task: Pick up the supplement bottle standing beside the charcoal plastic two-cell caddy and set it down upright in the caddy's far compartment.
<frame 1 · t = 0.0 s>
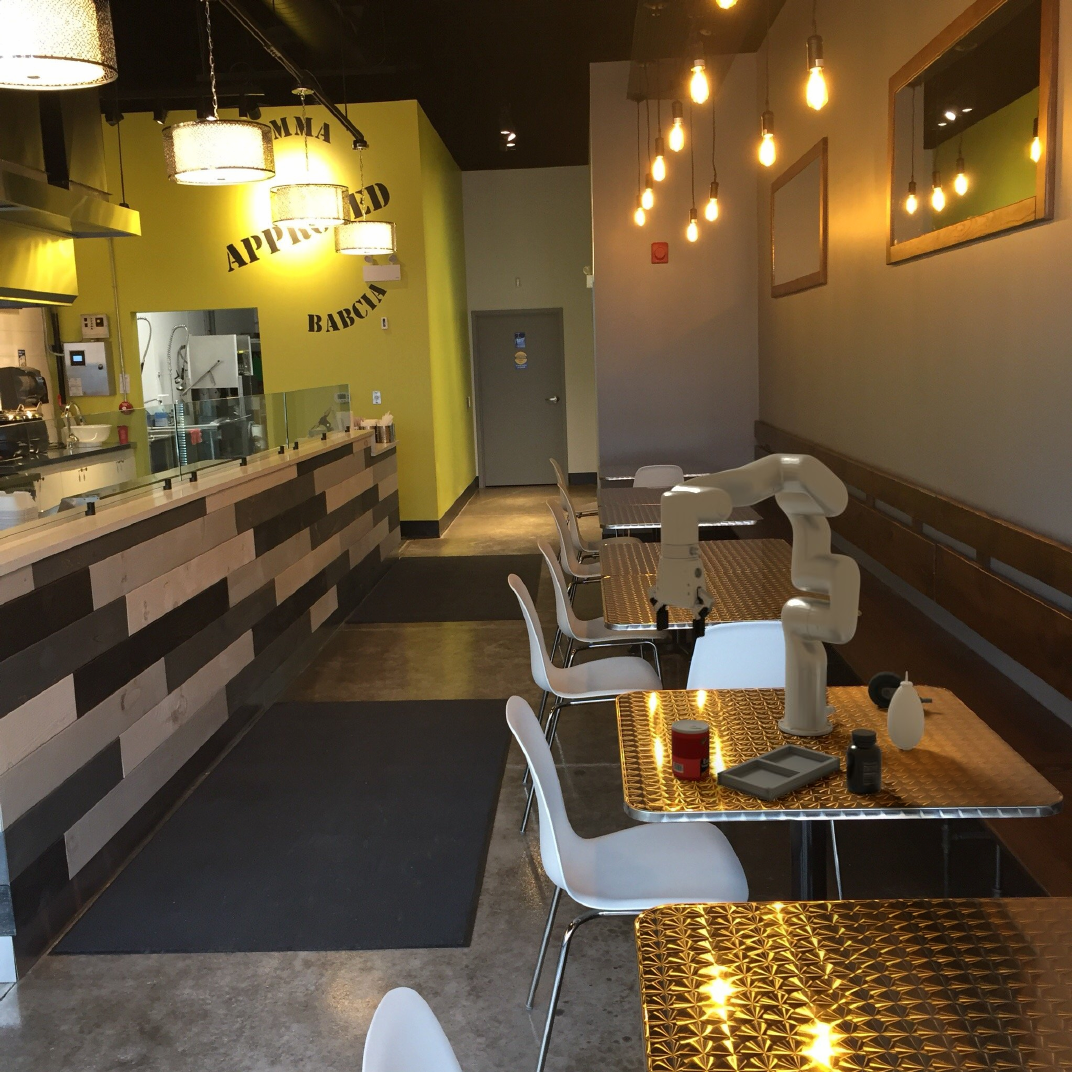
hand: (680, 633, 218), 31 cm above the table, tool pointing down, fingers open, 9 cm apart
supplement bottle: (863, 790, 214), on the table
white air blower bulb: (905, 750, 237), on the table
caddy: (779, 776, 222), on the table
canned food: (690, 775, 225), on the table
caster wheel: (899, 709, 266), on the table
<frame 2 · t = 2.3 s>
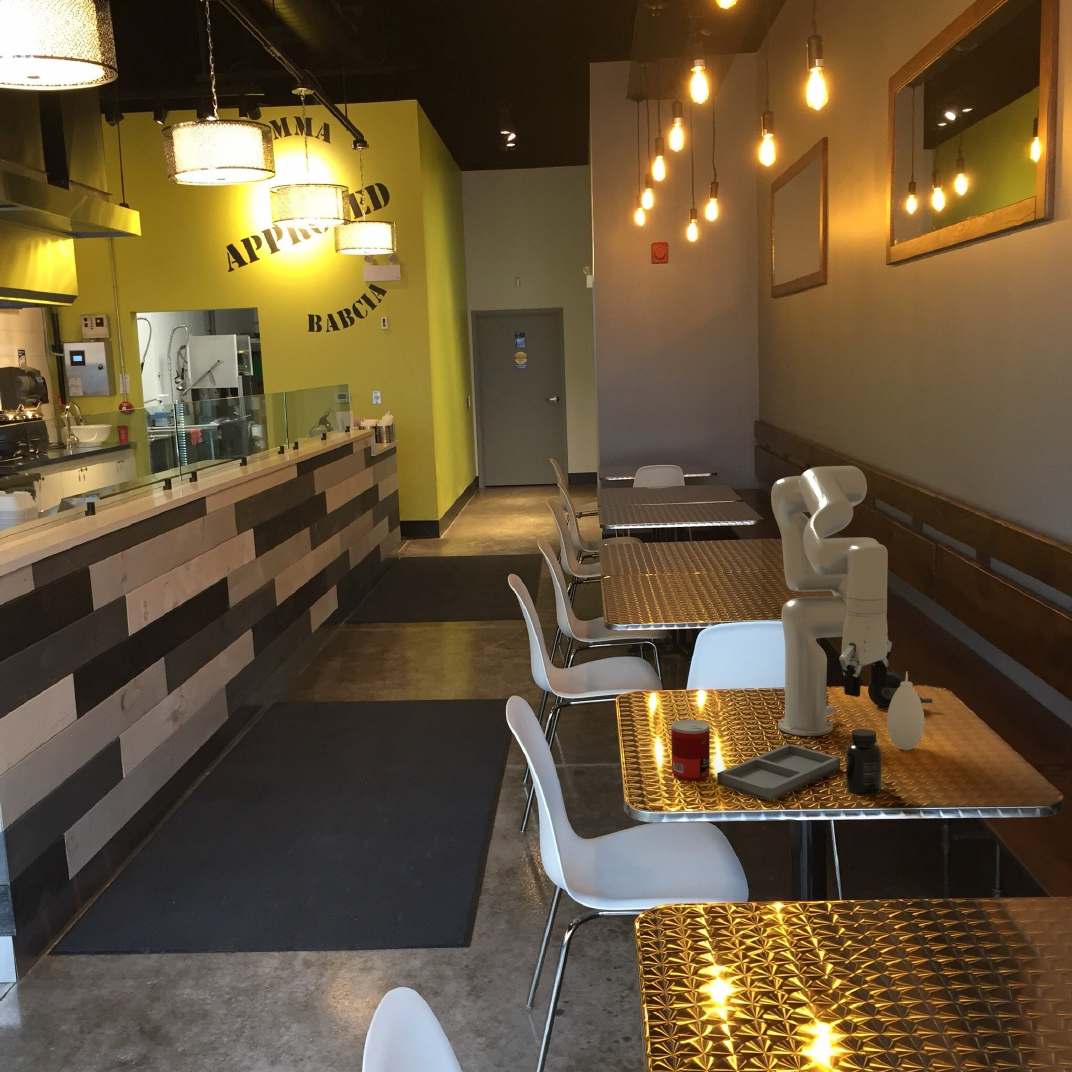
hand: (865, 690, 211), 21 cm above the table, tool pointing down, fingers open, 9 cm apart
nothing on the table moved.
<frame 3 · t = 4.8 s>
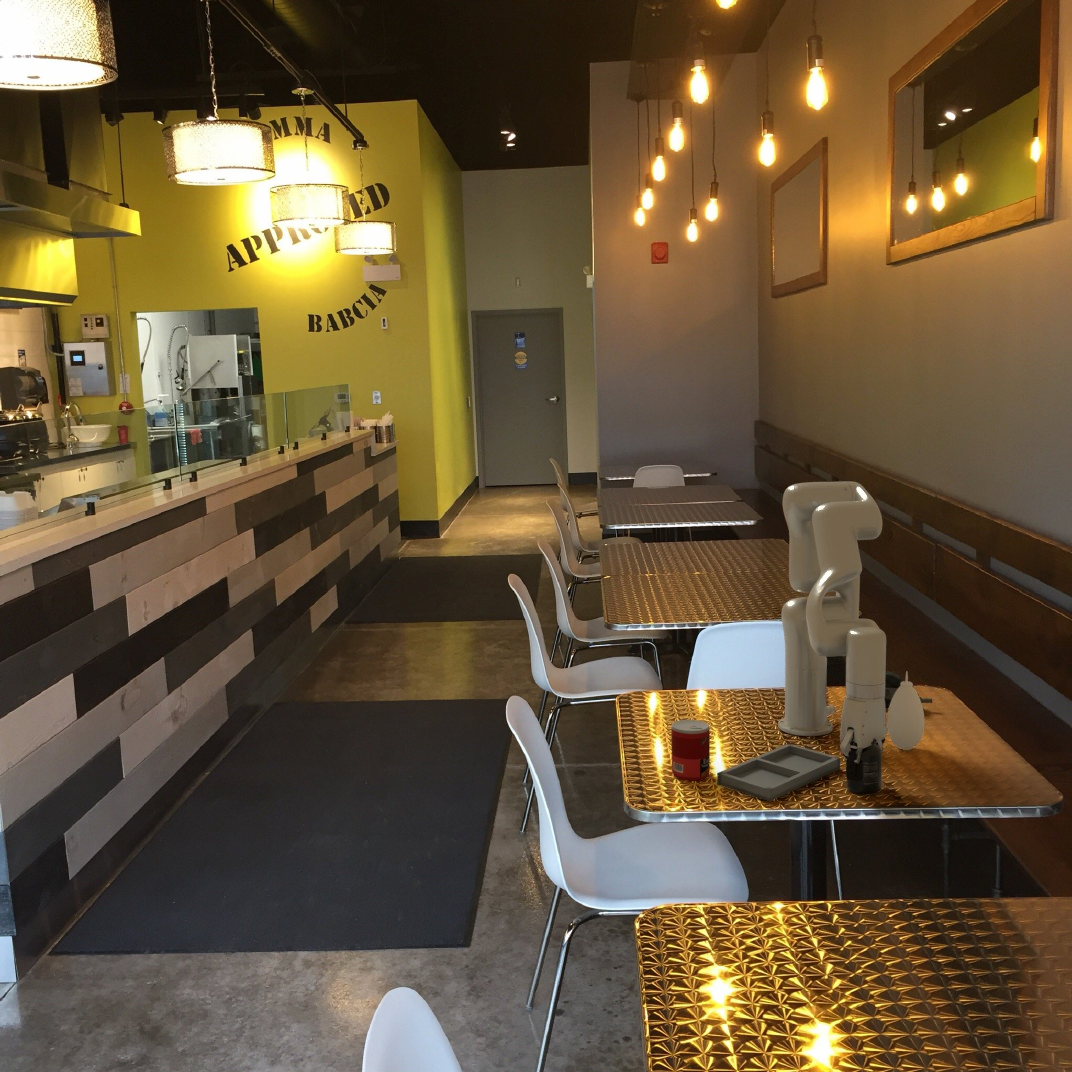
hand: (863, 774, 214), 3 cm above the table, tool pointing down, fingers closed on supplement bottle, 6 cm apart
supplement bottle: (863, 790, 214), on the table, touching gripper
everything else where it was.
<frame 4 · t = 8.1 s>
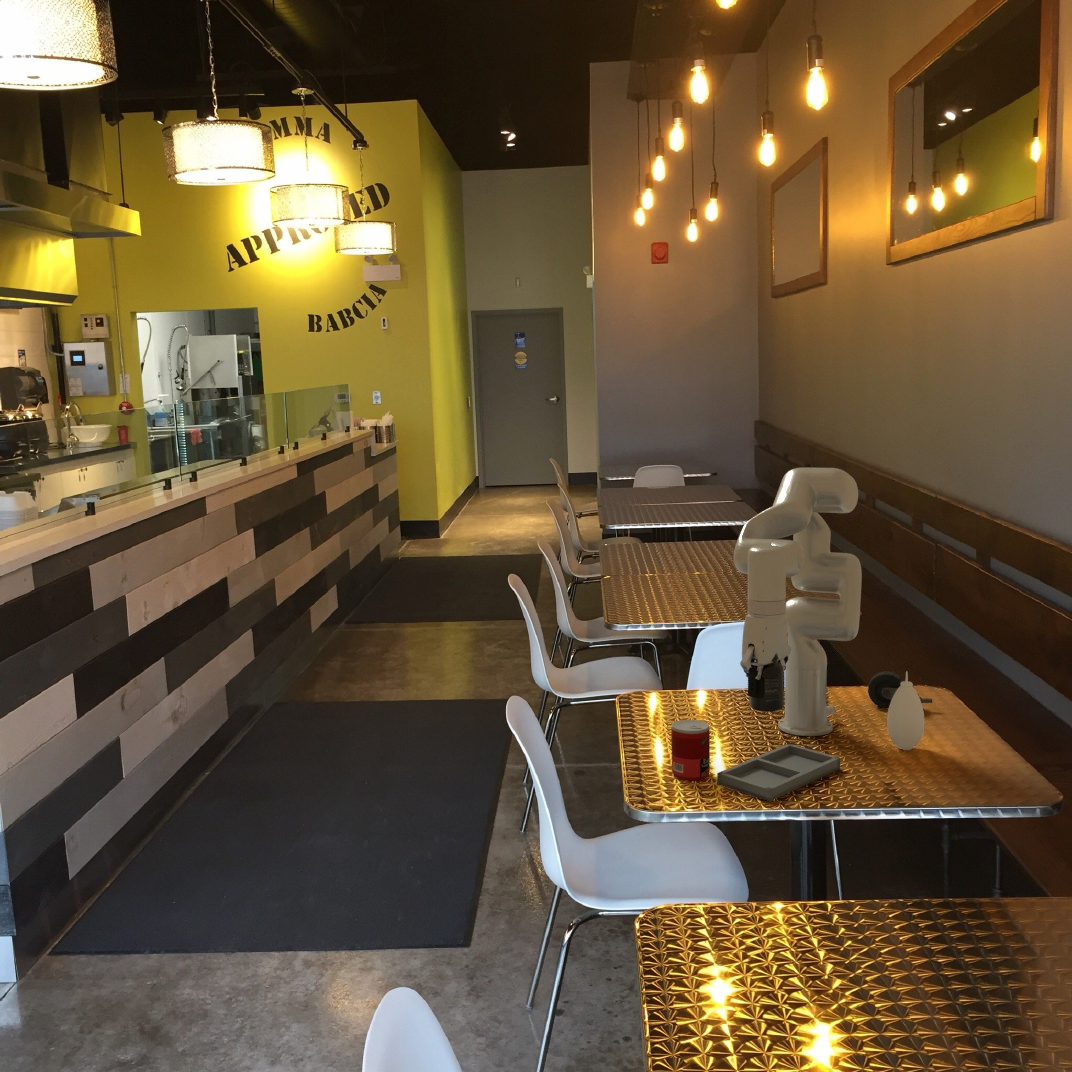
hand: (766, 692, 215), 20 cm above the table, tool pointing down, fingers closed on supplement bottle, 6 cm apart
supplement bottle: (766, 708, 216), point 16 cm above the table, touching gripper
everything else where it was.
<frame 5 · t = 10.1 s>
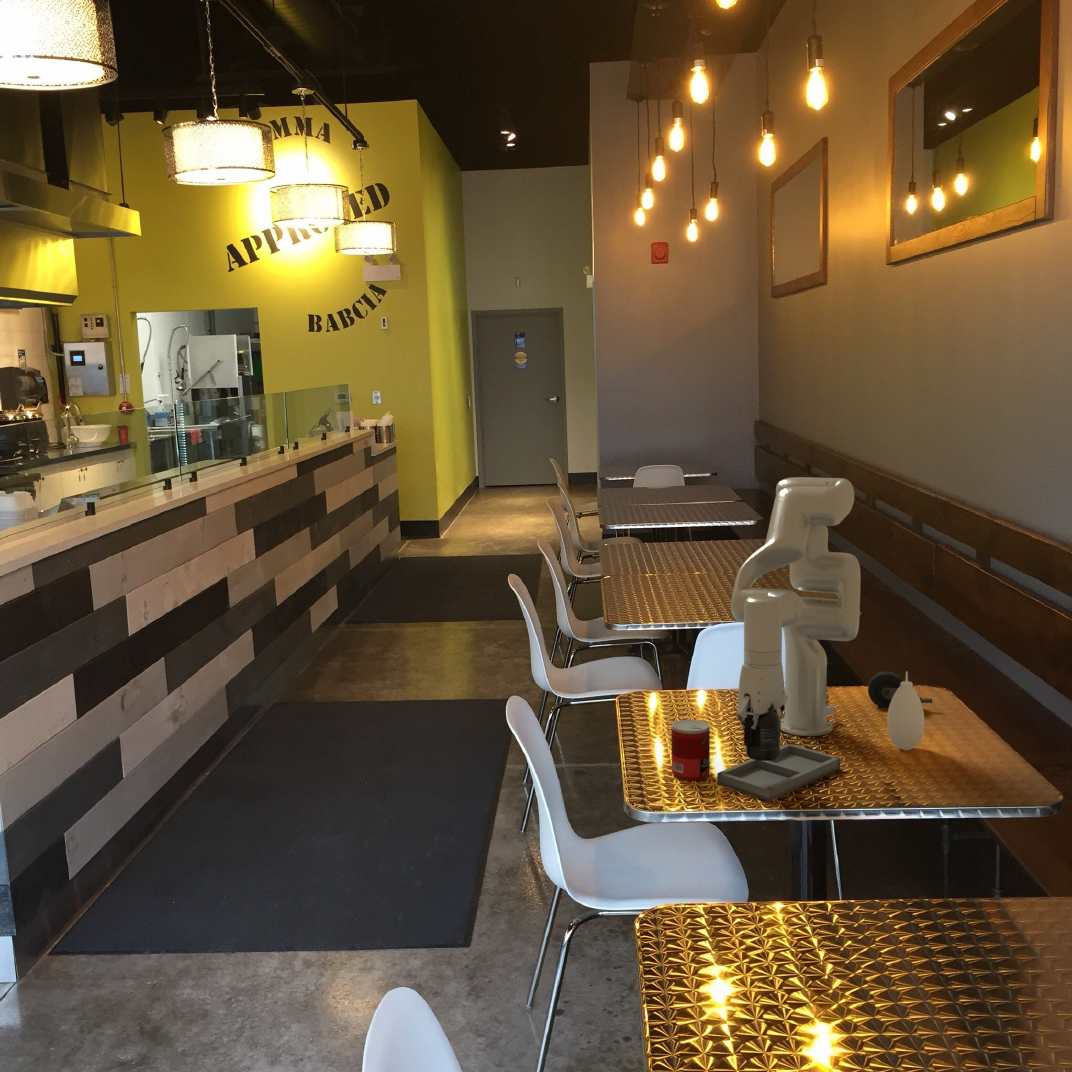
hand: (762, 741, 217), 9 cm above the table, tool pointing down, fingers closed on supplement bottle, 6 cm apart
supplement bottle: (762, 757, 217), point 6 cm above the table, touching gripper
everything else where it was.
when the fingers open (5 cm above the table, at t = 11.9 s): supplement bottle drops 1 cm, resting on caddy.
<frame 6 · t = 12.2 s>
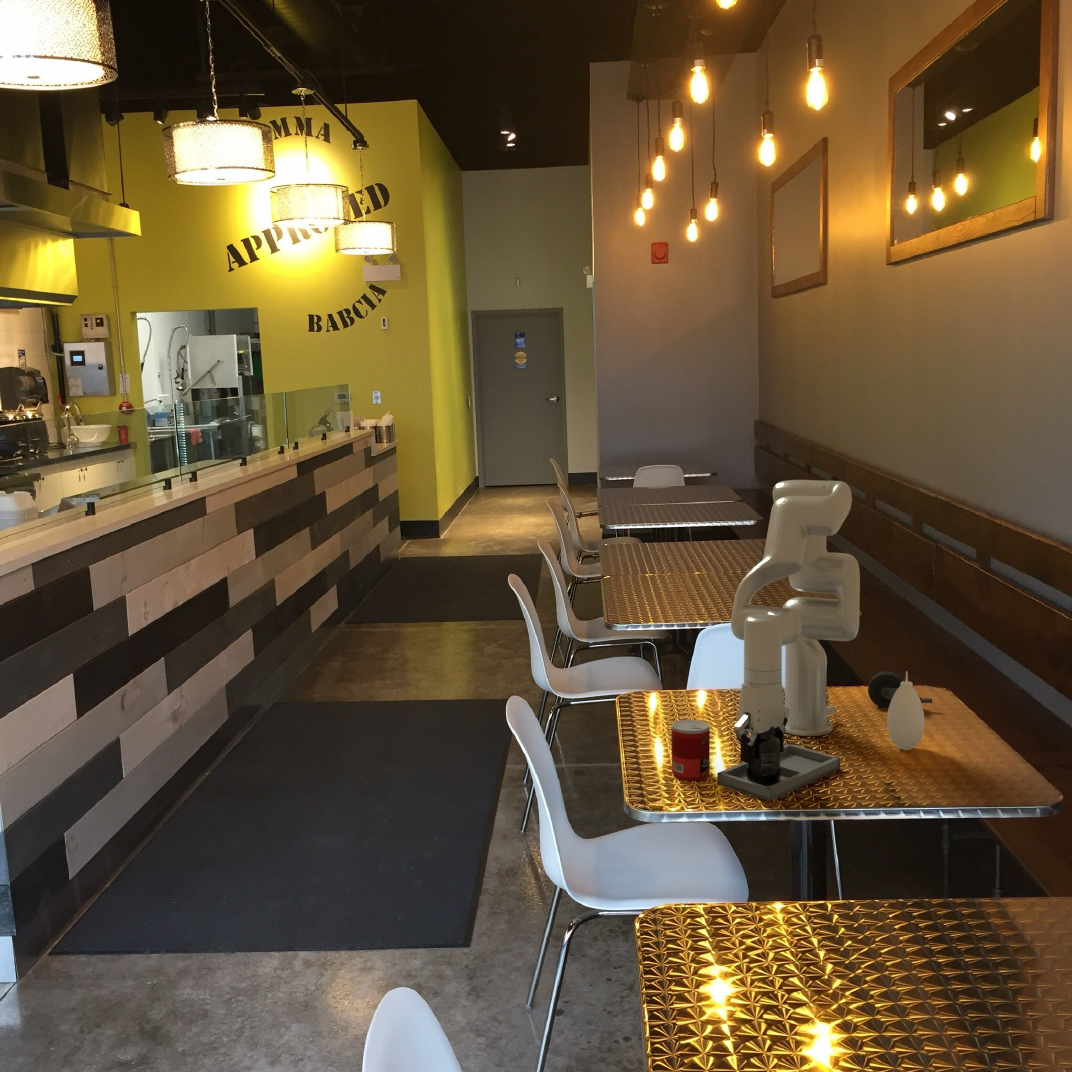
hand: (762, 756, 218), 6 cm above the table, tool pointing down, fingers open, 9 cm apart
supplement bottle: (763, 781, 218), point 1 cm above the table, touching caddy
everything else where it was.
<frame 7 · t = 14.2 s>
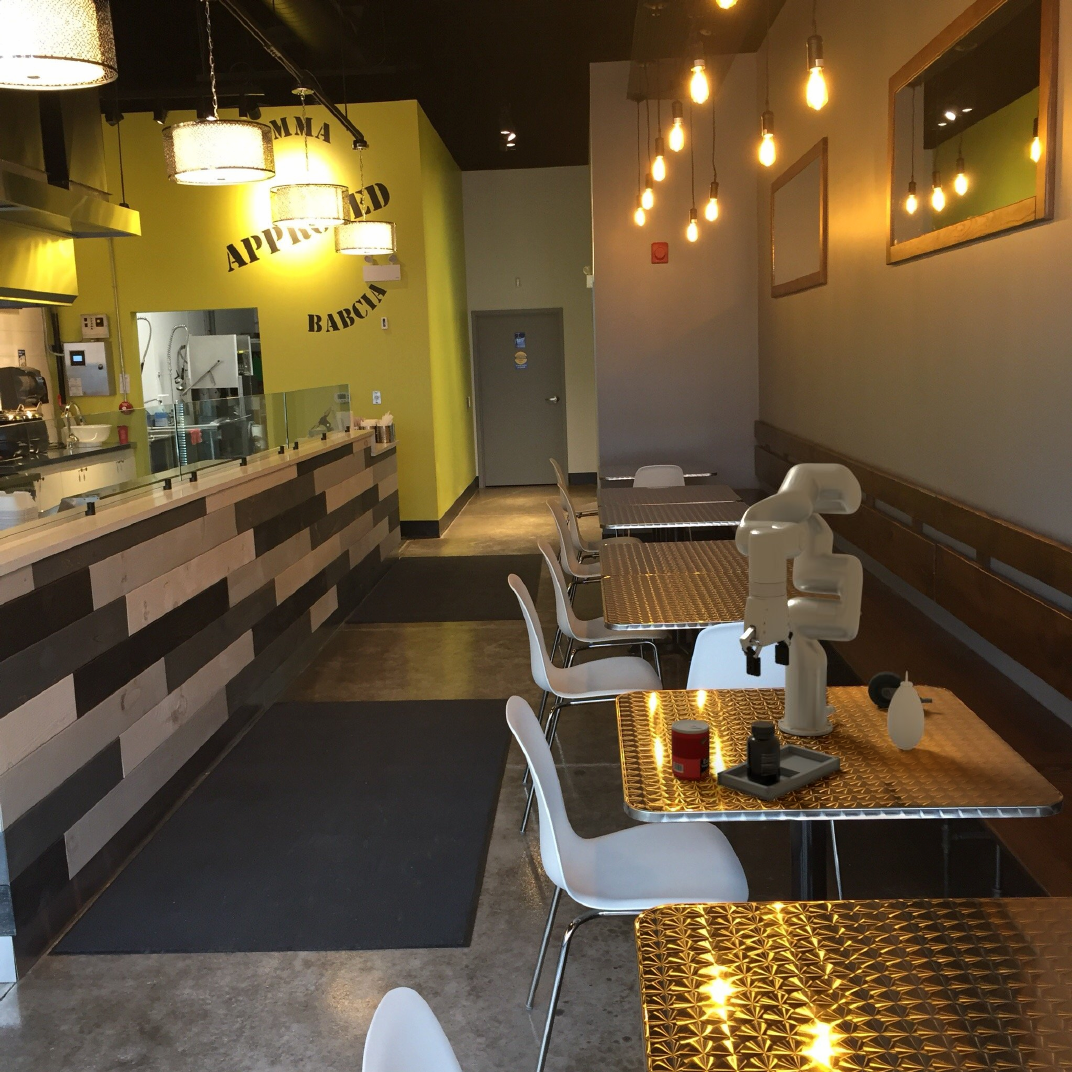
hand: (768, 669, 219), 23 cm above the table, tool pointing down, fingers open, 9 cm apart
nothing on the table moved.
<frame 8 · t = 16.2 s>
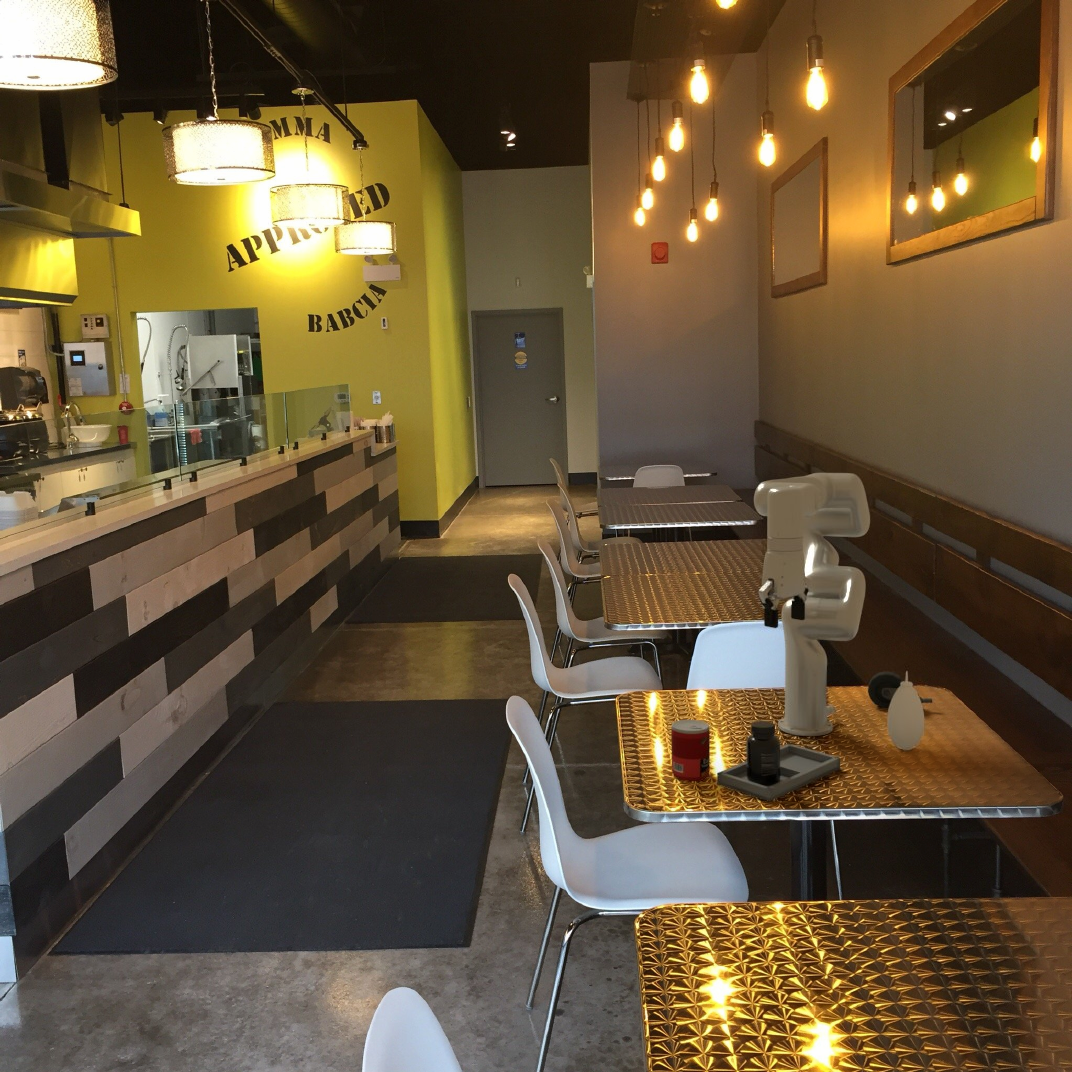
hand: (784, 623, 229), 30 cm above the table, tool pointing down, fingers open, 9 cm apart
nothing on the table moved.
at the end: supplement bottle inside the target area on the caddy (0.3 cm from its centre), point 0.6 cm above the caddy's base; supplement bottle tilted 0°; the gripper is holding nothing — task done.
